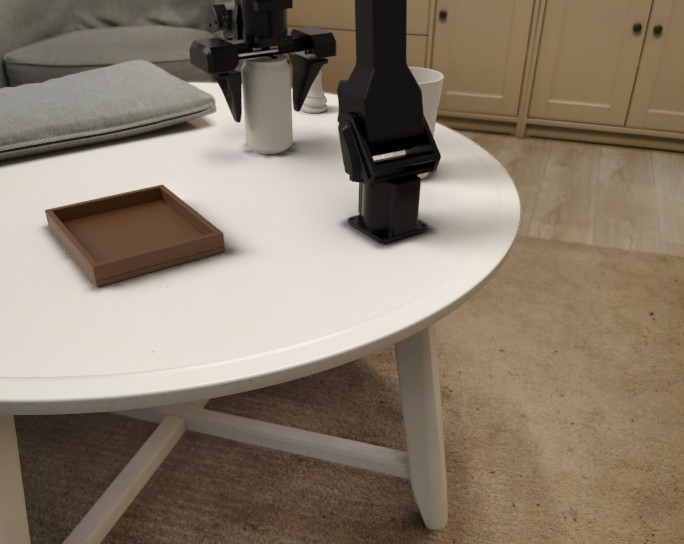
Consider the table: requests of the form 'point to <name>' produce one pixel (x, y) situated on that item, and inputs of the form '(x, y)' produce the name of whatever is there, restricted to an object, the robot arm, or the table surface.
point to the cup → (426, 100)
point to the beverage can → (267, 103)
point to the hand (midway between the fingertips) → (267, 116)
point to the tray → (133, 233)
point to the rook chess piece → (315, 97)
